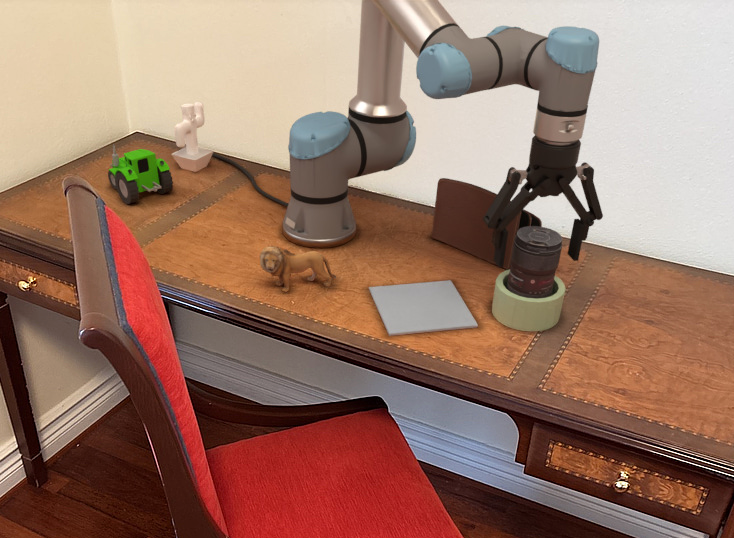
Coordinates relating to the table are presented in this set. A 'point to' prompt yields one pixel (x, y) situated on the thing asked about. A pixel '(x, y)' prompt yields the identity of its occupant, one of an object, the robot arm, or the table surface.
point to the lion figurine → (293, 265)
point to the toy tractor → (139, 174)
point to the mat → (421, 307)
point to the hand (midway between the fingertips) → (535, 260)
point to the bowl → (527, 306)
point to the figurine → (191, 139)
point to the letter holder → (472, 220)
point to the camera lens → (534, 262)
